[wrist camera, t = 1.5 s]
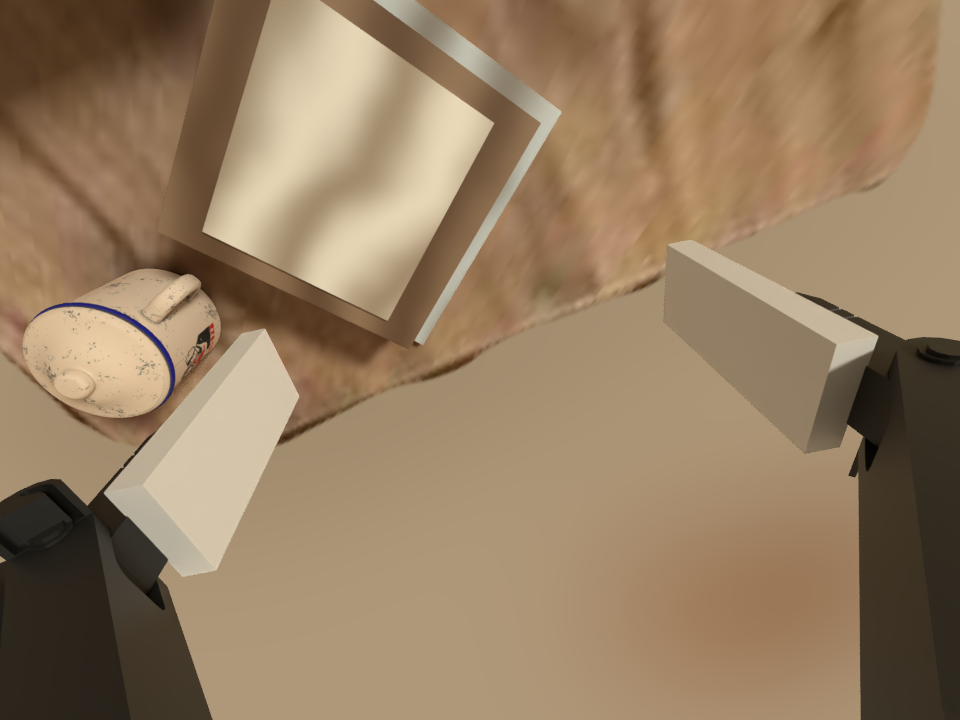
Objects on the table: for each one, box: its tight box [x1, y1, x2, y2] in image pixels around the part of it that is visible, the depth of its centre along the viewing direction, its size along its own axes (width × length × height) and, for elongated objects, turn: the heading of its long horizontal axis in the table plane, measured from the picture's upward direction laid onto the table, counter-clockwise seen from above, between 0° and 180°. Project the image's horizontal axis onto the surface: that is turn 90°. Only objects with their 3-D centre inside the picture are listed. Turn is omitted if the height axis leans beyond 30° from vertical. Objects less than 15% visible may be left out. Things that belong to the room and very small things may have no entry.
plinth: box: [157, 0, 561, 349], centre depth 30 cm, size 22×22×7 cm
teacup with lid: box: [22, 269, 221, 418], centre depth 32 cm, size 12×9×12 cm
